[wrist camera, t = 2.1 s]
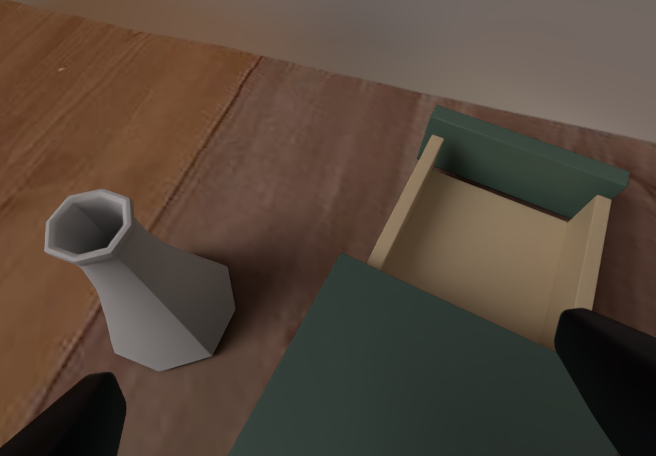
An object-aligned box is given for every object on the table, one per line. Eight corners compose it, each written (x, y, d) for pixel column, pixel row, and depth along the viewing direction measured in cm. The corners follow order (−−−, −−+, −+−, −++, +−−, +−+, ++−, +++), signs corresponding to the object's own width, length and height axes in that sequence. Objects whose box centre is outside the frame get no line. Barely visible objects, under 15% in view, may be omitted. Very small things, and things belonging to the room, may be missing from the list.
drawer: (427, 137, 29) (442, 92, 25) (590, 197, 26) (632, 157, 23) (325, 335, 22) (326, 311, 18) (537, 445, 19) (588, 444, 15)
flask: (95, 370, 21) (-59, 314, 13) (132, 252, 25) (31, 146, 16) (226, 374, 21) (160, 321, 13) (244, 256, 25) (203, 151, 16)
